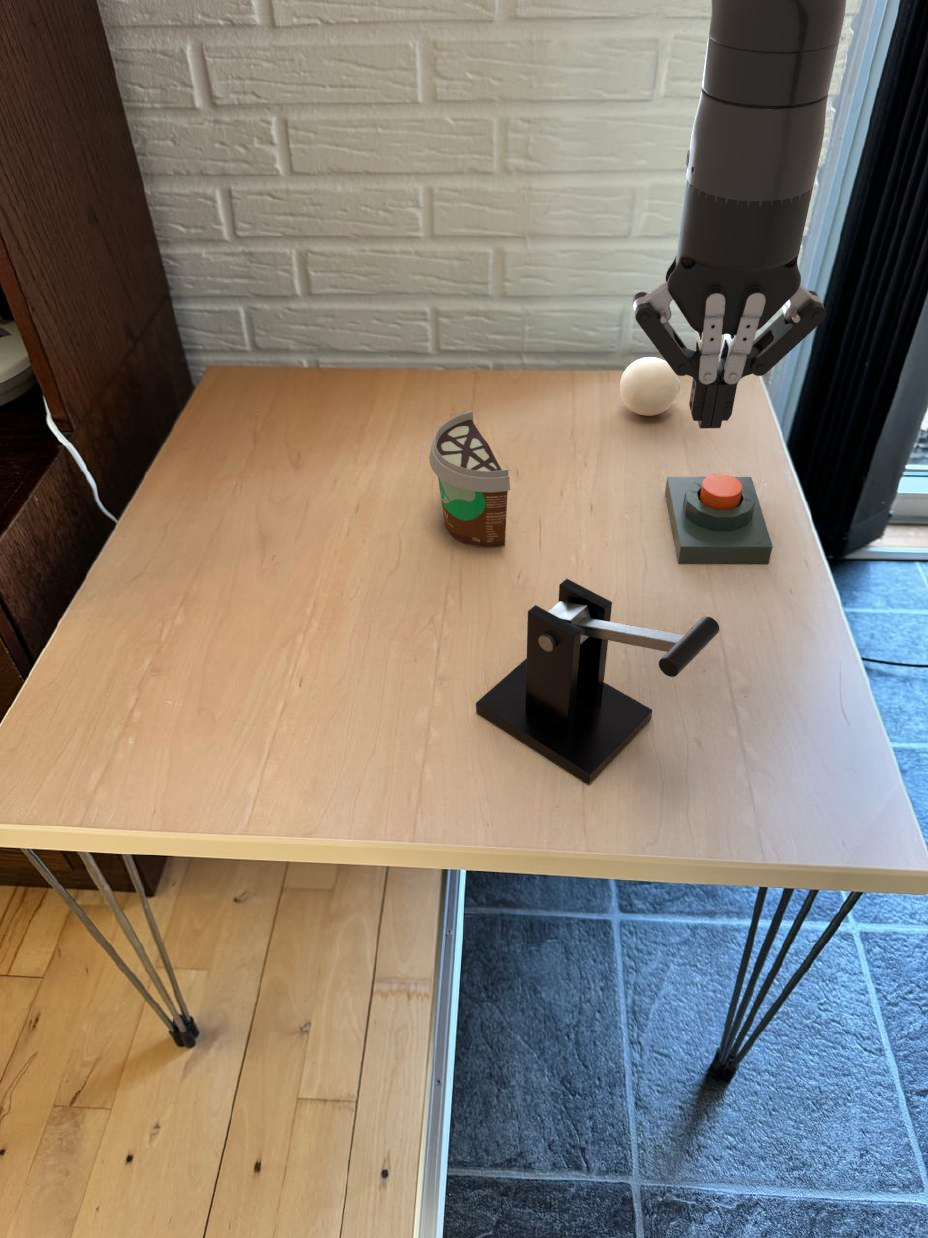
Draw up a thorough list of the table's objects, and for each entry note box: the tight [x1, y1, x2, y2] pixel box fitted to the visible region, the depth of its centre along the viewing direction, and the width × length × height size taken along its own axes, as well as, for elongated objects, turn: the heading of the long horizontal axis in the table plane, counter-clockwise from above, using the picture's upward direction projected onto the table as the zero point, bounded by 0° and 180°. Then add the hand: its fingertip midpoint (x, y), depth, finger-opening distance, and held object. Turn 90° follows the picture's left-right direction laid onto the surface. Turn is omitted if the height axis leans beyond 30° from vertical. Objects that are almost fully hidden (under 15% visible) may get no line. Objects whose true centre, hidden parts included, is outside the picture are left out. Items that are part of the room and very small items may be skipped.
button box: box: [664, 476, 774, 565], centre depth 100 cm, size 12×9×4 cm
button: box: [700, 473, 743, 510], centre depth 98 cm, size 4×4×2 cm
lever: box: [547, 601, 720, 678], centre depth 71 cm, size 13×6×2 cm, turn 49°
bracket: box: [475, 578, 653, 785], centre depth 78 cm, size 12×9×13 cm
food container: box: [428, 410, 511, 548], centre depth 99 cm, size 12×6×10 cm, turn 17°
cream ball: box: [619, 356, 682, 417], centre depth 116 cm, size 7×7×7 cm
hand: (708, 422), depth 70 cm, fingers closed
